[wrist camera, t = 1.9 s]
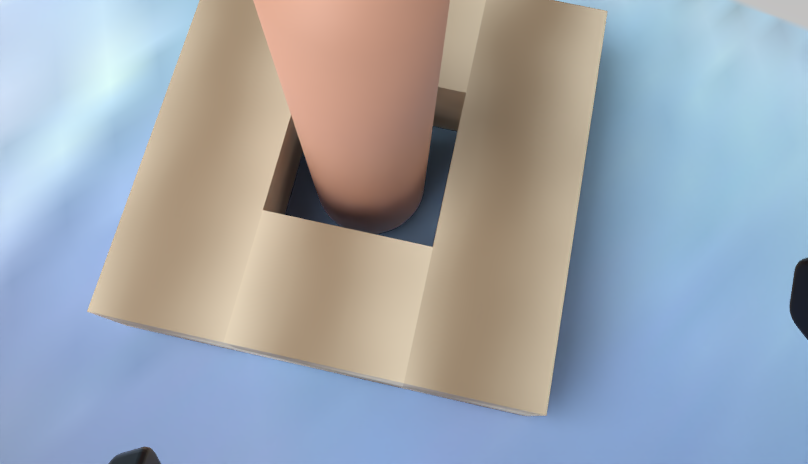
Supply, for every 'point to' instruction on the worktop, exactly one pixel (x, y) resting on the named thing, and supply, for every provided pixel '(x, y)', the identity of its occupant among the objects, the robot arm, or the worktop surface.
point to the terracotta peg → (360, 99)
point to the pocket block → (359, 251)
